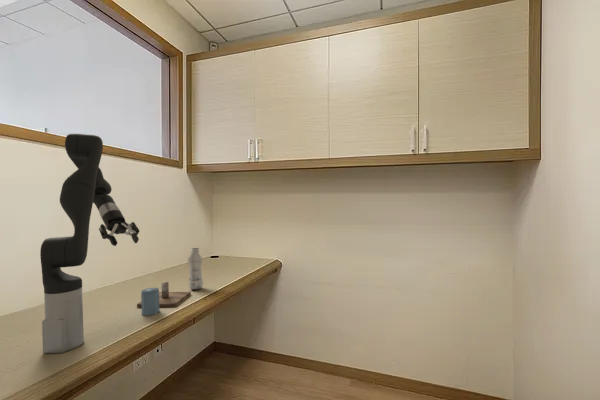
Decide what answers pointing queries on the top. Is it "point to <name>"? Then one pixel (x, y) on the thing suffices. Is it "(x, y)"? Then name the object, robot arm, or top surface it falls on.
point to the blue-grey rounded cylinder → (150, 301)
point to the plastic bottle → (195, 269)
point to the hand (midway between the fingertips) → (126, 243)
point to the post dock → (169, 297)
